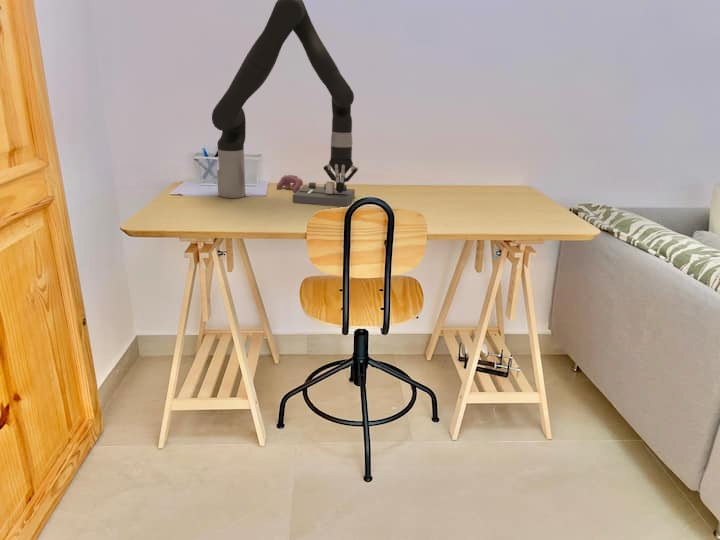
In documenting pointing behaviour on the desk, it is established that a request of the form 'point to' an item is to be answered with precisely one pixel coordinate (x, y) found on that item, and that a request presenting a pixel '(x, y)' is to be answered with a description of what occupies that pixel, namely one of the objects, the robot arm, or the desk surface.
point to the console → (323, 195)
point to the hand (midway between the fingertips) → (340, 192)
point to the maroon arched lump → (290, 179)
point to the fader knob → (330, 187)
